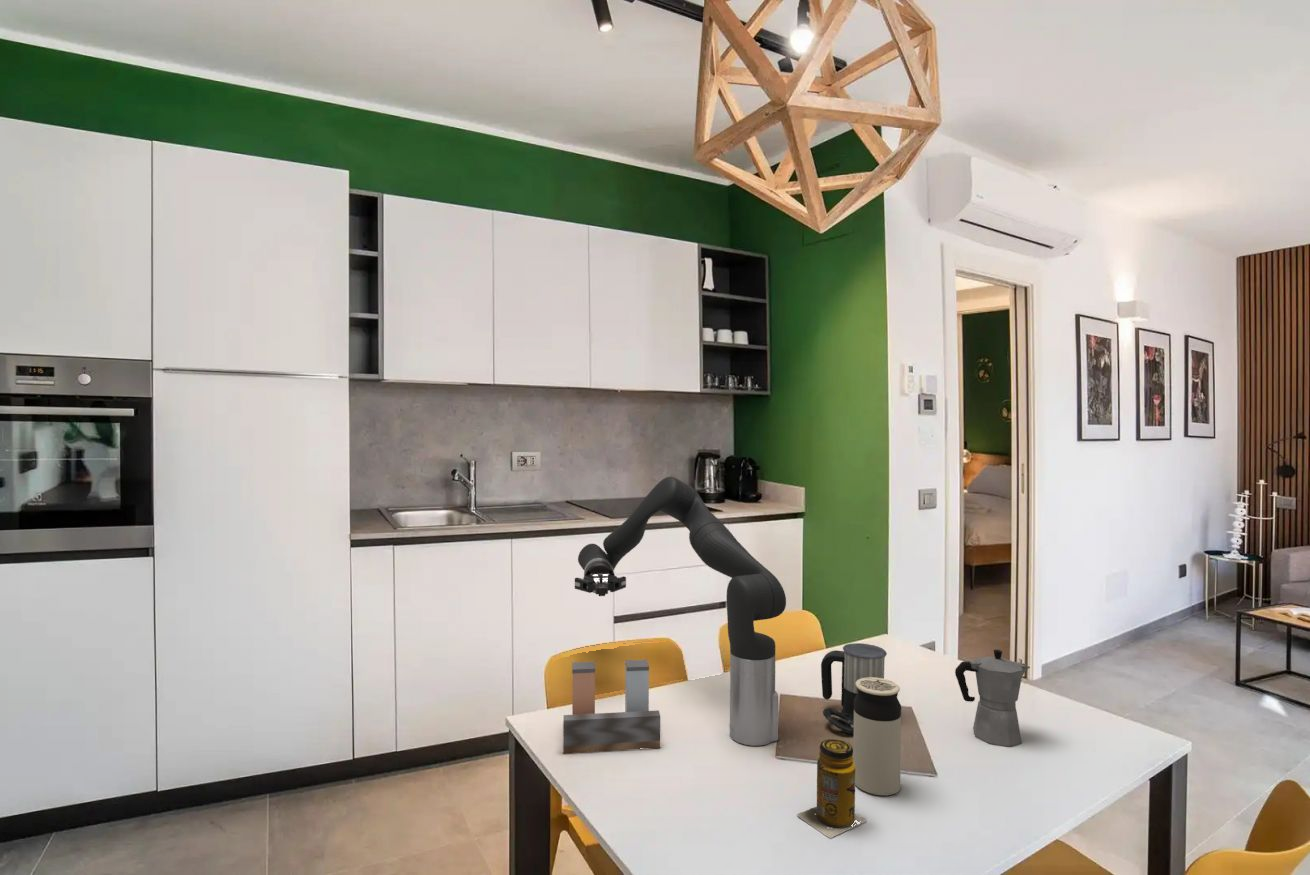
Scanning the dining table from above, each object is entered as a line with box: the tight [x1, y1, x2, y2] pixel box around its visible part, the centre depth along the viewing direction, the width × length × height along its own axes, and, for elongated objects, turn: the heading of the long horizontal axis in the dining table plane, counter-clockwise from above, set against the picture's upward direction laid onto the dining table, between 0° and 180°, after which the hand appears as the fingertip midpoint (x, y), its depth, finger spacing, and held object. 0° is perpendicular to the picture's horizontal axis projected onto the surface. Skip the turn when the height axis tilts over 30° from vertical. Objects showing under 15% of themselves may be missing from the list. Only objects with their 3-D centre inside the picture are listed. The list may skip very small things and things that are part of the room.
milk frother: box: [820, 642, 888, 734], centre depth 146 cm, size 14×16×15 cm
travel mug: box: [853, 677, 902, 796], centre depth 120 cm, size 8×8×18 cm
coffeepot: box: [954, 649, 1031, 748], centre depth 139 cm, size 15×9×18 cm, turn 92°
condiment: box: [796, 738, 867, 839], centre depth 110 cm, size 7×8×12 cm
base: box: [562, 710, 661, 755], centre depth 140 cm, size 19×14×6 cm
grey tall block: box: [624, 659, 650, 712], centre depth 140 cm, size 5×4×13 cm
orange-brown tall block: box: [571, 661, 596, 715], centre depth 139 cm, size 5×4×13 cm
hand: (602, 591), depth 154 cm, fingers closed
